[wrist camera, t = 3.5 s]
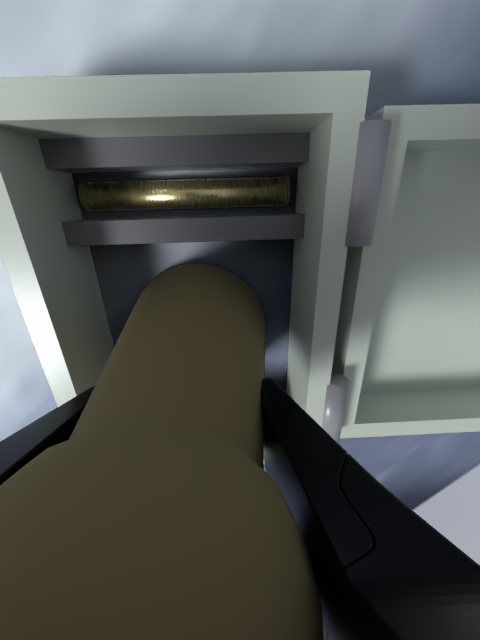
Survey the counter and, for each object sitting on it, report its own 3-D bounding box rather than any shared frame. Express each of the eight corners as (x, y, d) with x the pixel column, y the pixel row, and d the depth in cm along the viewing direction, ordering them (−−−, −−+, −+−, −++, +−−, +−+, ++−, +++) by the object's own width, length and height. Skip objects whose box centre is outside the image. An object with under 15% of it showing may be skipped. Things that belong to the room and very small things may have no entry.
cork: (275, 270, 11) (635, 799, 1) (256, 387, 14) (331, 891, 4) (129, 255, 11) (-1073, 899, 1) (135, 379, 13) (-158, 931, 3)
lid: (496, 388, 15) (552, 427, 12) (315, 396, 15) (333, 438, 12) (611, 124, 10) (744, 97, 7) (343, 131, 10) (384, 106, 7)
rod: (284, 208, 11) (290, 201, 10) (94, 214, 11) (80, 208, 10) (284, 181, 11) (290, 172, 10) (91, 186, 11) (76, 178, 10)
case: (314, 404, 15) (339, 464, 11) (115, 413, 14) (80, 478, 11) (345, 114, 10) (410, 65, 6) (34, 121, 9) (-77, 74, 6)
